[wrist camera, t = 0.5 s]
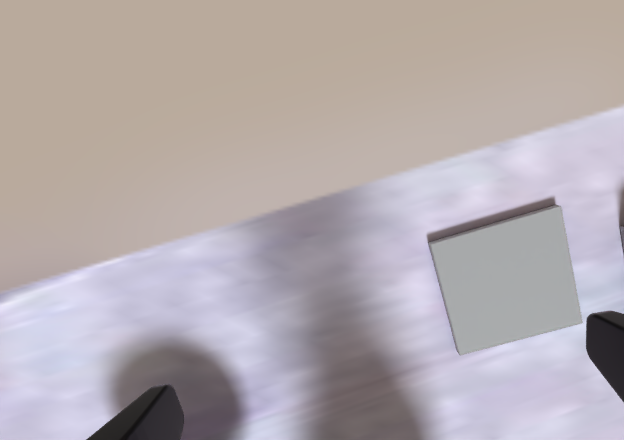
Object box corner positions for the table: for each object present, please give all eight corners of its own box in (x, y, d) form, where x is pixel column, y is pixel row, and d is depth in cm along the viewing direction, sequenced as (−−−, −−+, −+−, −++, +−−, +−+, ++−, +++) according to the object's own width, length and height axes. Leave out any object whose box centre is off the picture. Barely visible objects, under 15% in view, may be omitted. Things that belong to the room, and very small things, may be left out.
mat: (577, 319, 23) (582, 323, 23) (457, 351, 24) (459, 355, 23) (555, 204, 22) (561, 206, 21) (428, 242, 22) (430, 244, 22)
